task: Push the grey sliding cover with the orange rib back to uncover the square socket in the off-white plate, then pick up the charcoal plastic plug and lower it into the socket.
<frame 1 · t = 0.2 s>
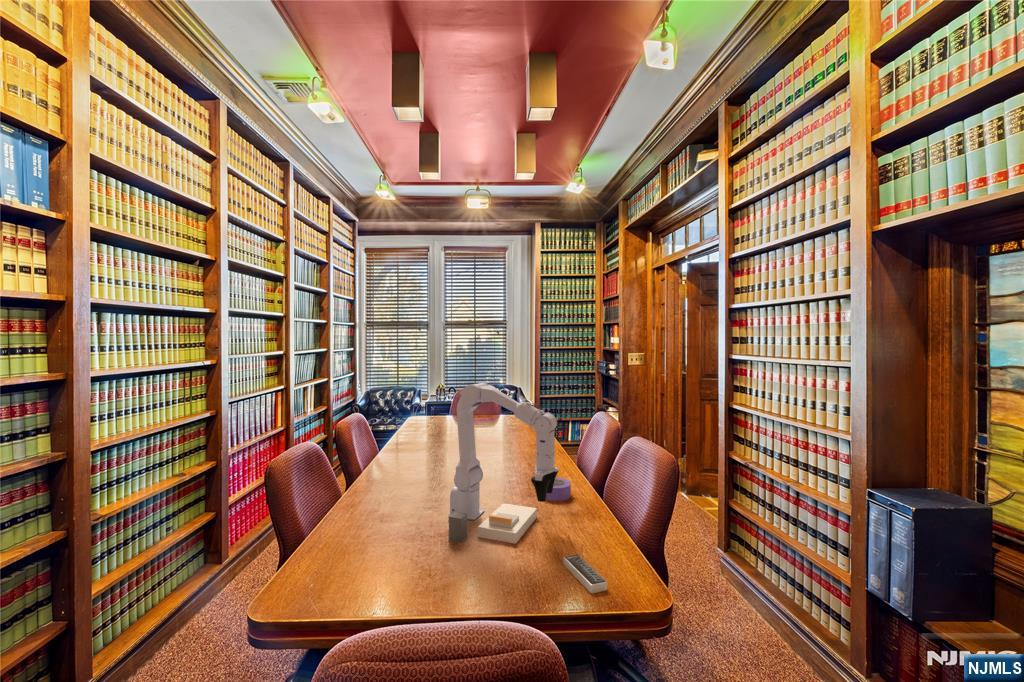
hand: (545, 496, 139), 10 cm above the table, fingers open, 7 cm apart
plug: (458, 538, 132), on the table
shutter: (504, 517, 137), point 4 cm above the table, slide at 0.0 cm
tape roll: (554, 496, 168), on the table
socket plate: (508, 526, 141), on the table
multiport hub: (584, 578, 112), on the table
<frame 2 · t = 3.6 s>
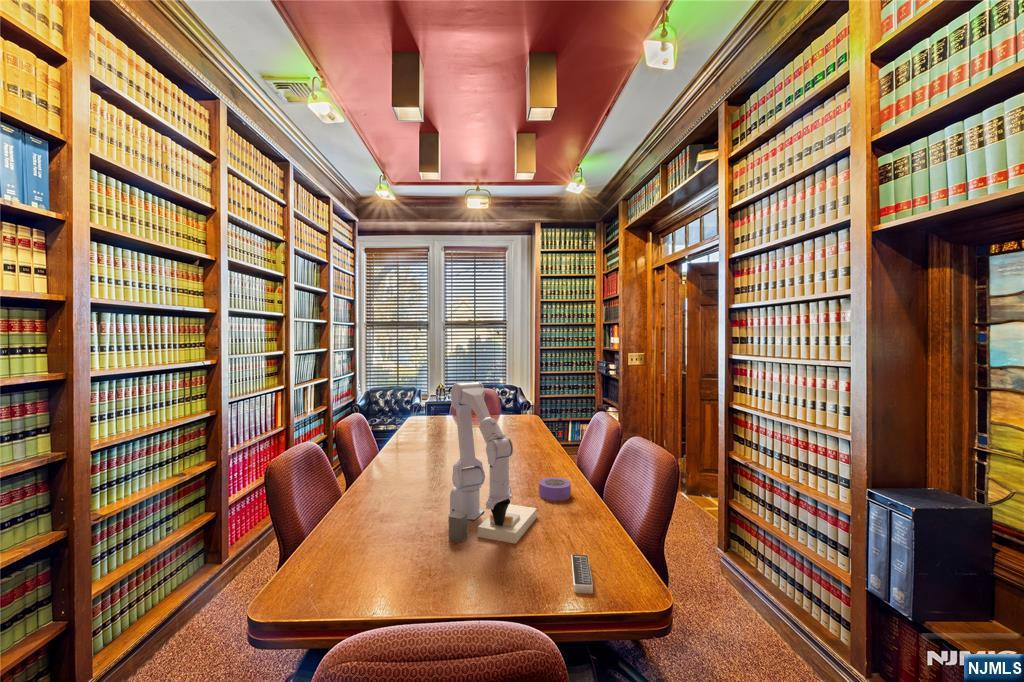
hand: (499, 524, 133), 4 cm above the table, fingers closed
shutter: (505, 516, 137), point 4 cm above the table, slide at 0.8 cm, touching gripper
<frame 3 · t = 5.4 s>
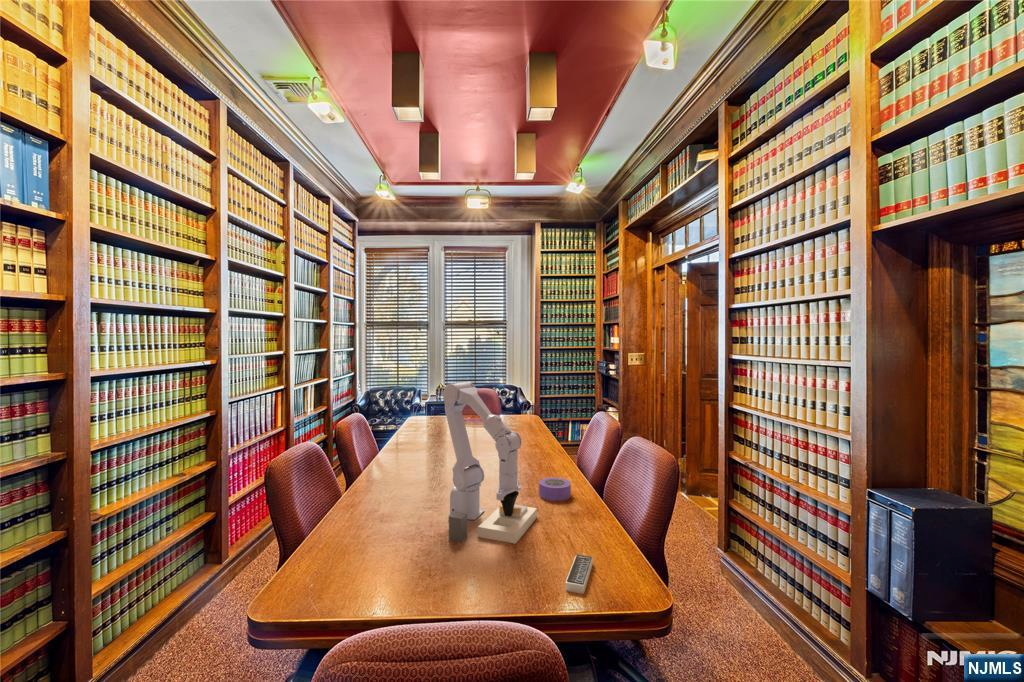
hand: (508, 515, 140), 4 cm above the table, fingers closed
shutter: (513, 507, 144), point 4 cm above the table, slide at 8.1 cm, touching gripper
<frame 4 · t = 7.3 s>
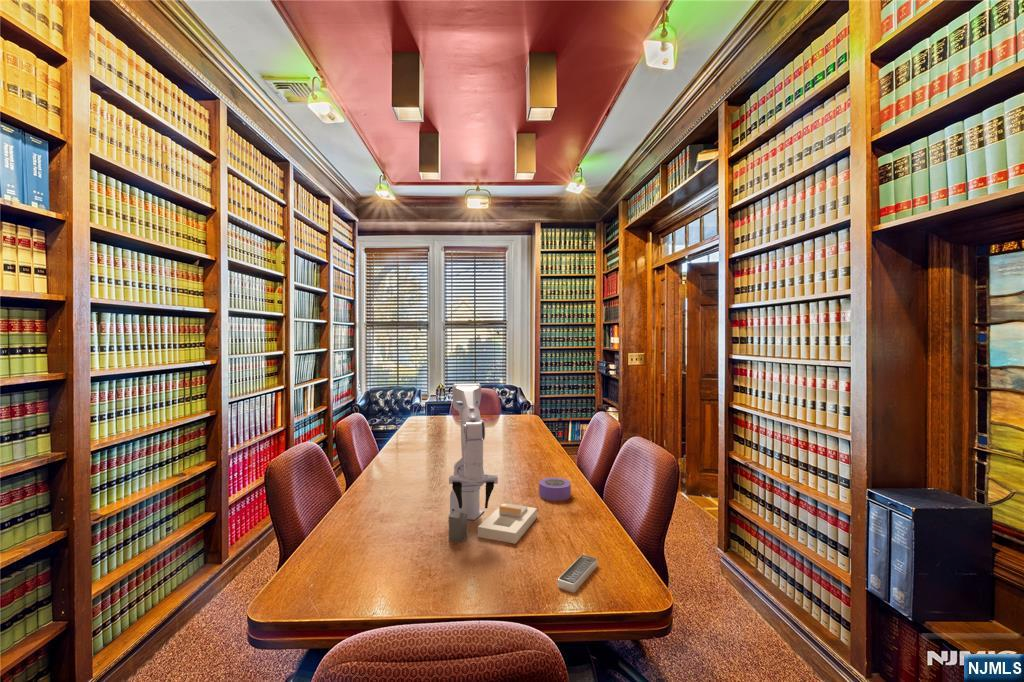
hand: (473, 507, 134), 8 cm above the table, fingers open, 7 cm apart
shutter: (513, 507, 144), point 4 cm above the table, slide at 8.0 cm
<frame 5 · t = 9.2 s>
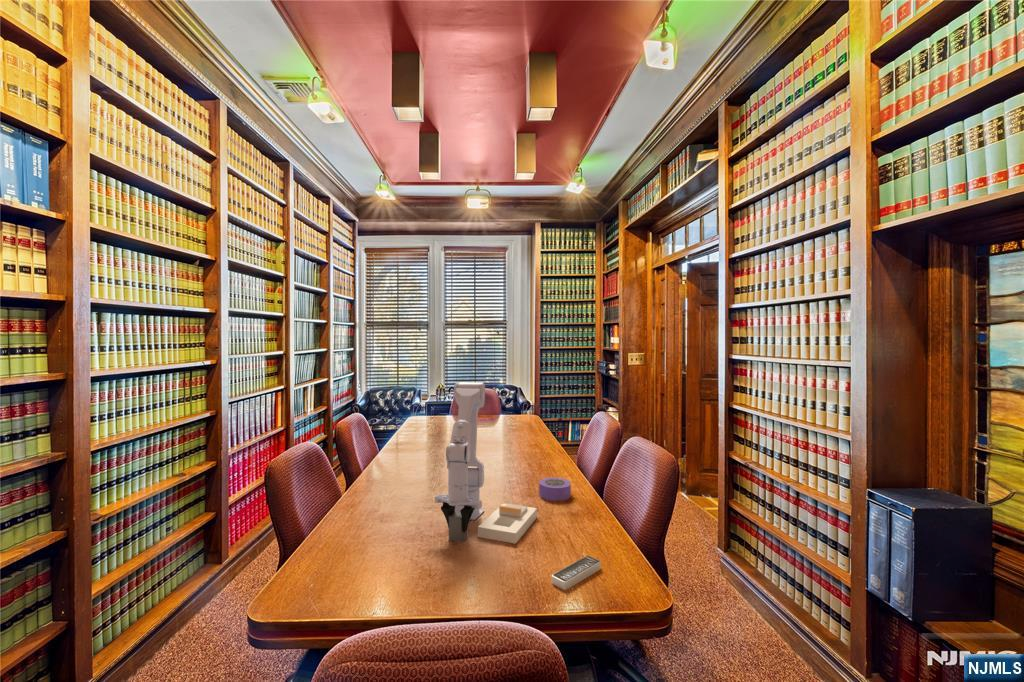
hand: (458, 529, 132), 3 cm above the table, fingers closed on plug, 4 cm apart
plug: (458, 538, 132), on the table, touching gripper
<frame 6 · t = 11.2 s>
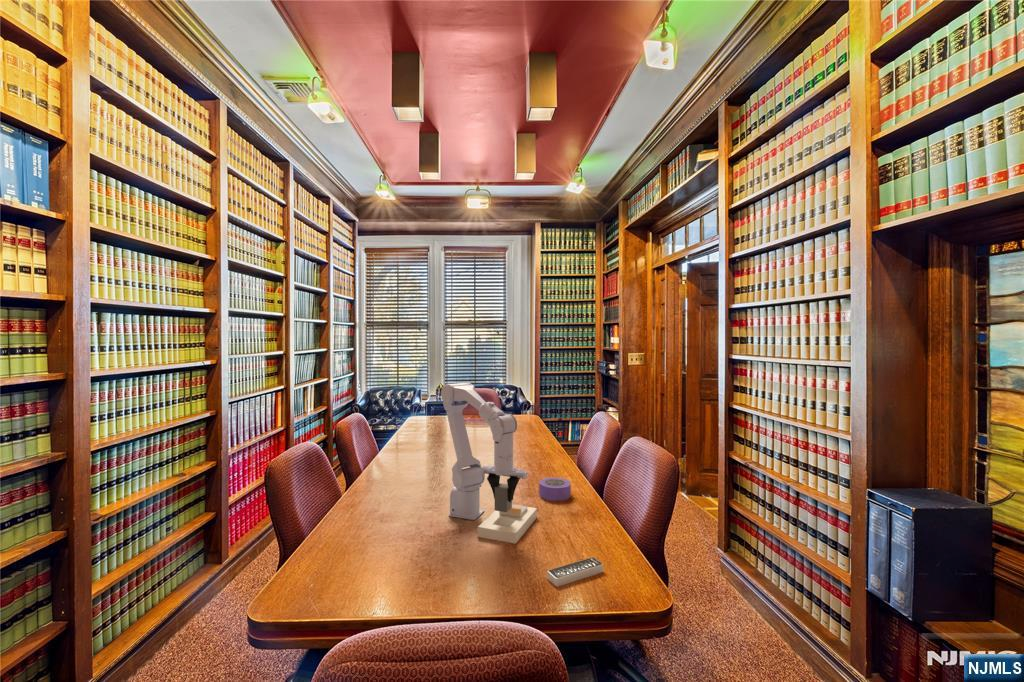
hand: (503, 499, 137), 10 cm above the table, fingers closed on plug, 4 cm apart
plug: (503, 509, 136), point 7 cm above the table, touching gripper
when the fingers open (4 cm above the table, at t = 13.1 s): plug drops 1 cm, resting in socket plate.
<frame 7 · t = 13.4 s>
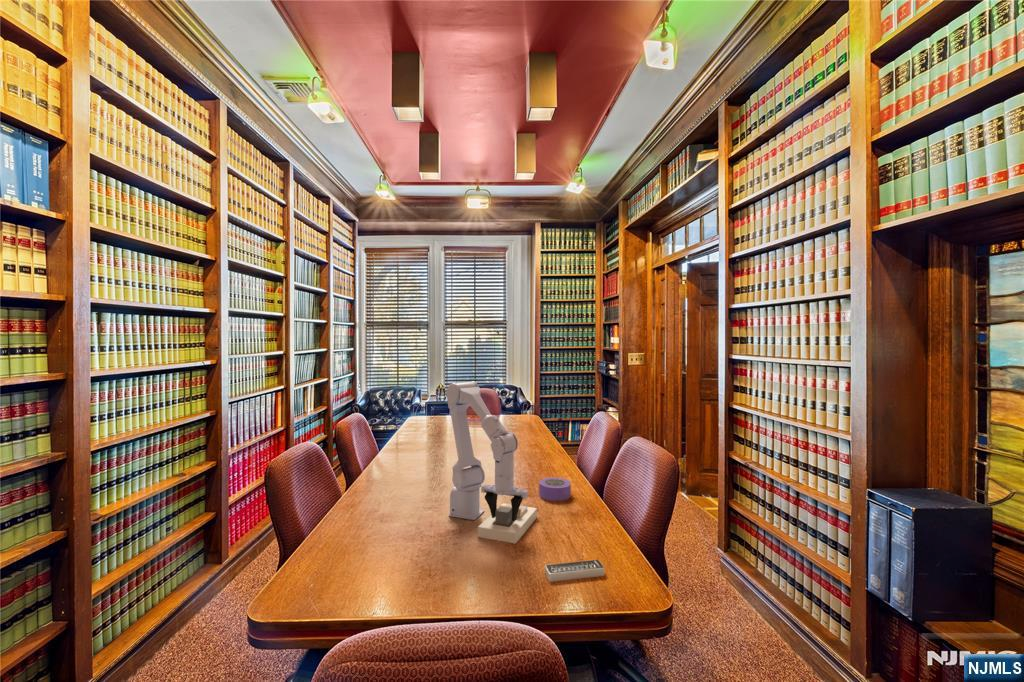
hand: (504, 518, 137), 4 cm above the table, fingers open, 6 cm apart
plug: (503, 532, 137), resting in socket plate
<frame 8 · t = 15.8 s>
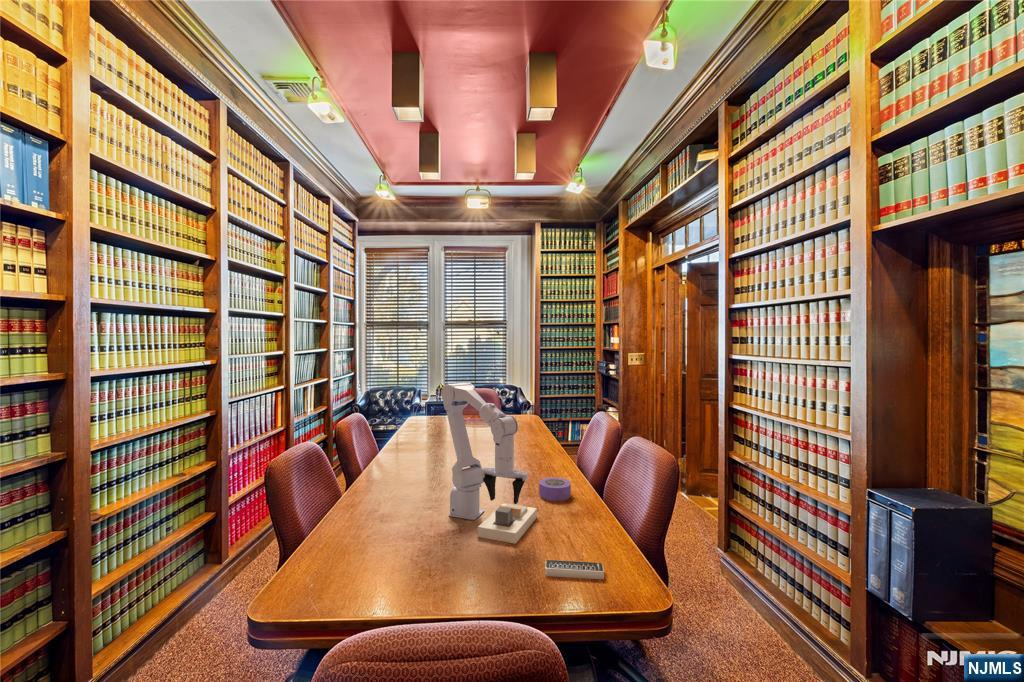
hand: (504, 501, 137), 9 cm above the table, fingers open, 7 cm apart
at the end: shutter slide at 8.0 cm; plug 0.2 cm from the target spot on the socket plate, point 0.0 cm above the socket plate's base; plug tilted 0° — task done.
